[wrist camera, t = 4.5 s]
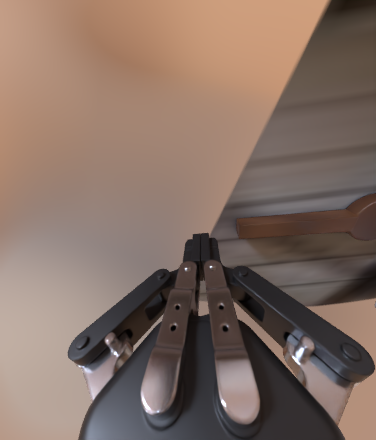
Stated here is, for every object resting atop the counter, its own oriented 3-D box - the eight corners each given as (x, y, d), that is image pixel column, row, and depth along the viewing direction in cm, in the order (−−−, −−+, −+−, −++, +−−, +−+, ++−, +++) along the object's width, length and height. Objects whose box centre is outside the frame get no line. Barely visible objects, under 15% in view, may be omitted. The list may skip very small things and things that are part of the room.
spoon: (236, 241, 17) (238, 249, 16) (236, 206, 15) (240, 212, 13) (381, 231, 15) (397, 240, 14) (407, 189, 13) (429, 195, 11)
